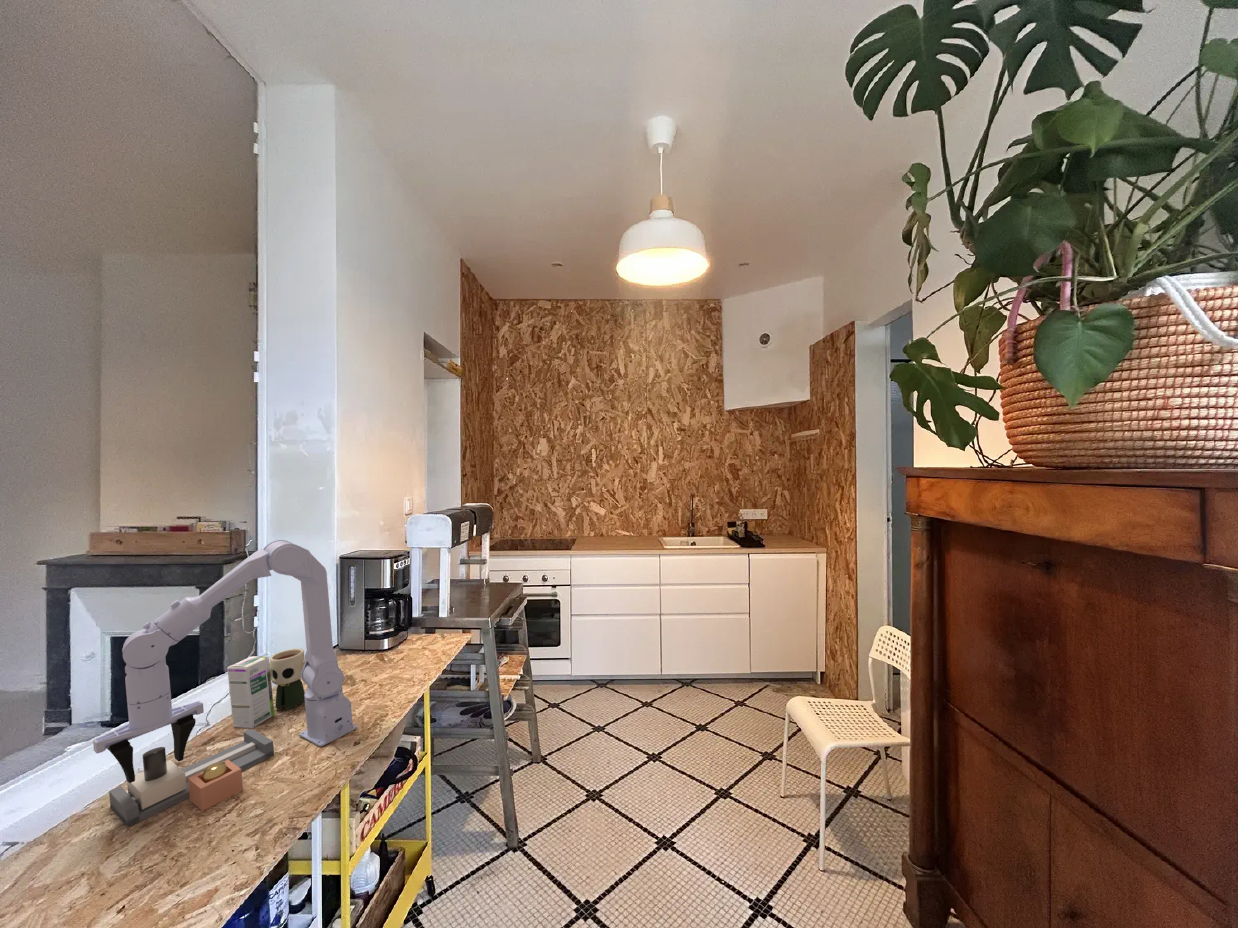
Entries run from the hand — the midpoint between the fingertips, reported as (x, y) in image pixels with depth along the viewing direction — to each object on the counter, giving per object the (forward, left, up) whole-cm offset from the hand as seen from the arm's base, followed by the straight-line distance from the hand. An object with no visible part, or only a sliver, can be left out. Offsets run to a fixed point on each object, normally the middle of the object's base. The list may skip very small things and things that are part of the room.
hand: (155, 769), depth 90 cm
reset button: (-9, -6, -3) cm, 11 cm away
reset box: (-9, -6, -5) cm, 12 cm away
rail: (0, -6, -5) cm, 8 cm away
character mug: (+15, -29, -6) cm, 33 cm away
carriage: (0, 0, -4) cm, 4 cm away
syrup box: (+15, -21, -6) cm, 26 cm away
